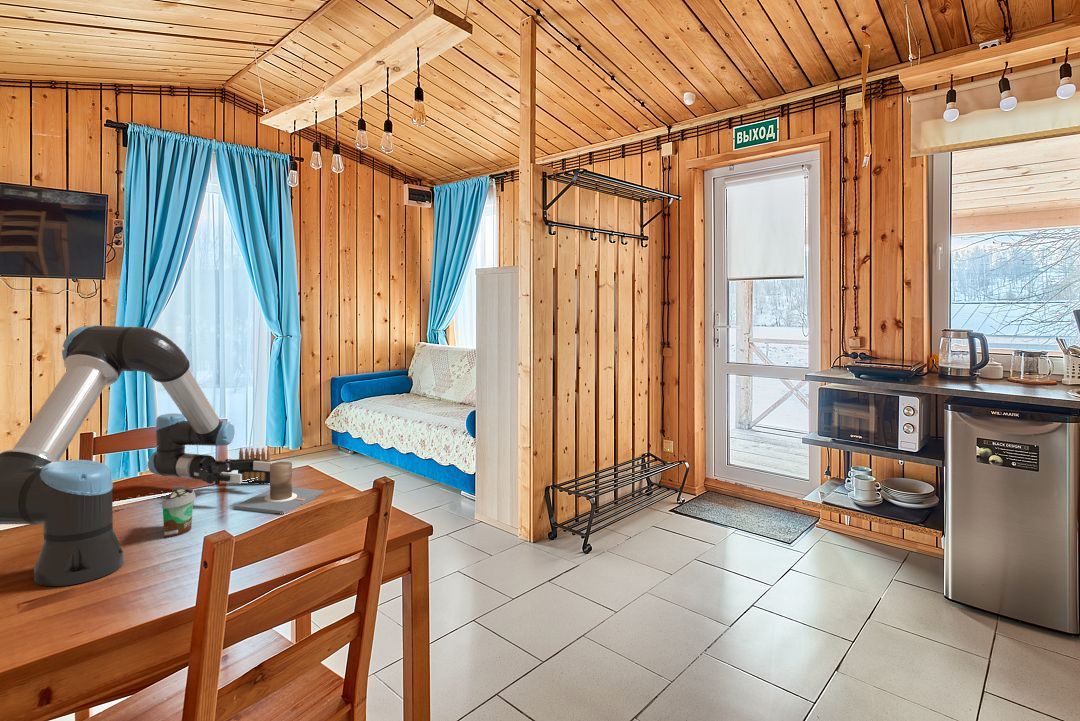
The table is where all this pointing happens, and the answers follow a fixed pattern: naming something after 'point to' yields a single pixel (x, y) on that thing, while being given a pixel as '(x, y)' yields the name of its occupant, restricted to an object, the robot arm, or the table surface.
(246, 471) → the ammunition clip
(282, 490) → the brown cylinder
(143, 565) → the table surface
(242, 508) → the seat board
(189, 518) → the food container
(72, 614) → the table surface
